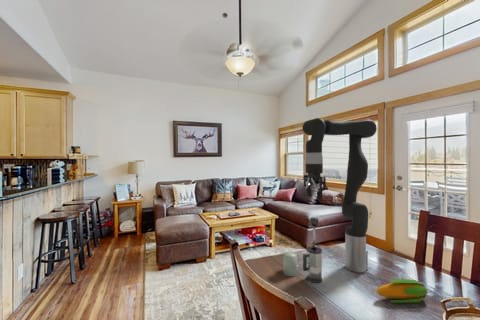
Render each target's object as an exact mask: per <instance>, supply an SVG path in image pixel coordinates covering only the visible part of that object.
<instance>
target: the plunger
mask: <svg viewBox="0 0 480 320" xmlns="http://www.w3.org/2000/svg"><path fill="white" fill-rule="evenodd" d="M309 225H310V226H311V227H312V246H313V249H315V246H316V227H318V226H319V218H318V217H309Z"/></svg>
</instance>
